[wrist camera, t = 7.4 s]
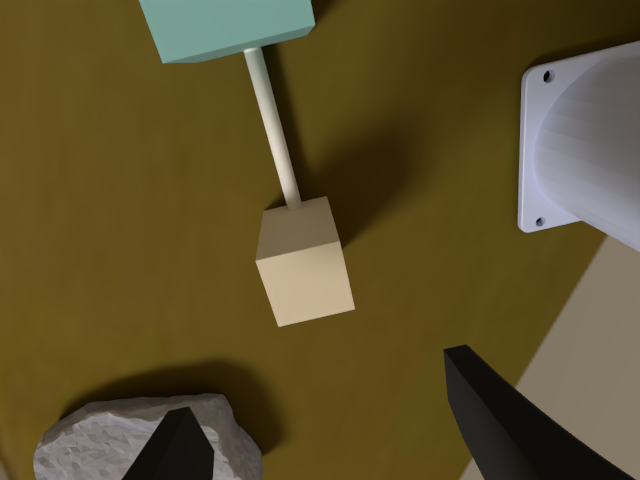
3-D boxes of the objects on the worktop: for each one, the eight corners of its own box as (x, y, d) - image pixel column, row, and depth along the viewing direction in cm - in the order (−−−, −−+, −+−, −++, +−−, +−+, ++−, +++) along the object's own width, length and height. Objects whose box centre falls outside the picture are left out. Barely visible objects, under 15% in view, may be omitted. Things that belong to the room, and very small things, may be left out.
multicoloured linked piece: (147, -94, 13) (72, -177, 8) (273, -127, 13) (265, -229, 8) (268, 268, 20) (263, 330, 15) (351, 248, 19) (370, 305, 15)
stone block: (54, 394, 25) (118, 503, 27) (-2, 452, 20) (82, 577, 23) (222, 342, 25) (270, 457, 27) (204, 389, 20) (265, 522, 22)
